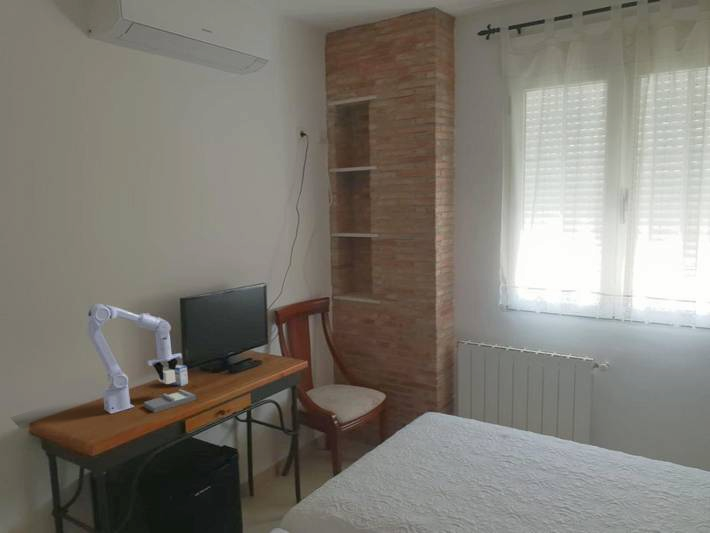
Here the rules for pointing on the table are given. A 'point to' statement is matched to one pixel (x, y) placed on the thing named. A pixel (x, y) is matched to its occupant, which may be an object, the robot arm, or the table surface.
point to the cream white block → (168, 376)
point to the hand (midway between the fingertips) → (166, 378)
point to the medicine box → (180, 375)
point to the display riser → (169, 401)
